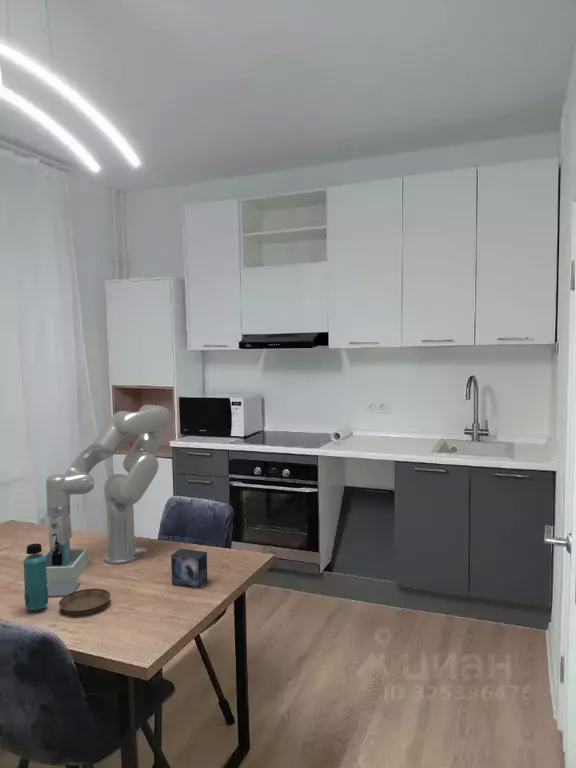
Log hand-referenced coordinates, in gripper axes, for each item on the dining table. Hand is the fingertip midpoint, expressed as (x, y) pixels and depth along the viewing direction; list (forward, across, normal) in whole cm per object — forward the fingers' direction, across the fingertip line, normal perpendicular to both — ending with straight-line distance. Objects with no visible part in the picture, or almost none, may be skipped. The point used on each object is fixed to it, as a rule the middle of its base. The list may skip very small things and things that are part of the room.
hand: (60, 560), depth 195 cm
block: (+2, 0, 0) cm, 2 cm away
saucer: (+5, -27, -16) cm, 32 cm away
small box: (+5, -13, -46) cm, 48 cm away
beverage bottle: (+5, -28, -2) cm, 28 cm away
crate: (+5, 0, 0) cm, 5 cm away
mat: (+5, -14, -4) cm, 16 cm away
